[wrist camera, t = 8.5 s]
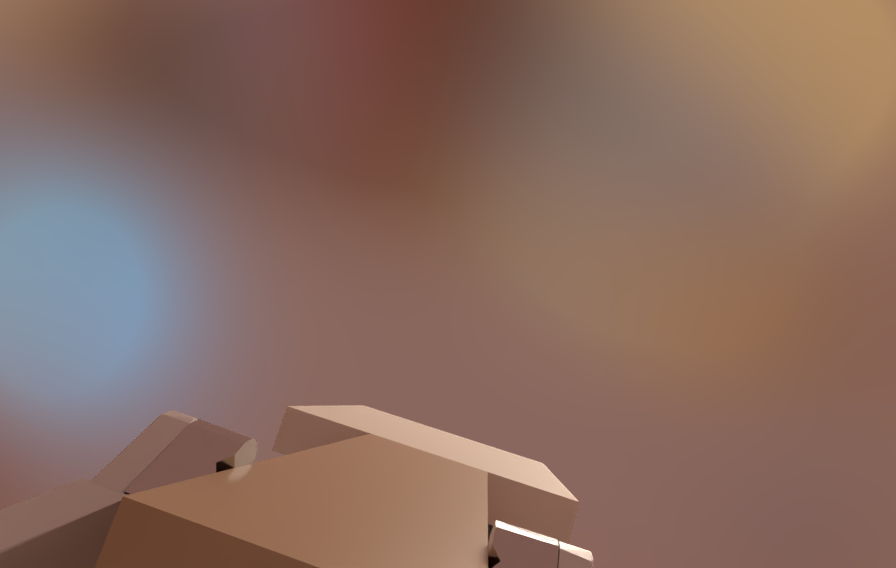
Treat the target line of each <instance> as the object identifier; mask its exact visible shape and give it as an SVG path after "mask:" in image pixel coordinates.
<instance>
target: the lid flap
mask: <svg viewBox="0 0 896 568" xmlns="http://www.w3.org/2000/svg"><path fill="white" fill-rule="evenodd" d="M272 451H275V452H278V453H281V454H284V456H280V457H277V458H272V459H268V460H265V461H260V462H257V463H253V464H249V465H245V466H241V467H237V468H232V469H229V470H225V471H221V472H217V473H213V474H209V475H205V476H201V477H197V478H193V479H189V480H185V481H181V482H177V483H173V484H169V485H165V486H161V487H157V488H153V489H149V490H145V491H141V492H137V493H133V494H129V495H125V496H123V497H122V500H121V502H120V505H119V507H118V510H117V512H116V515H115V517H114V520H113V522H112V525H111V528H110V530H109V533H108V535H107V538H106V540H105V543H104V545H103V548H102V550H101V553H100V555H99V558H98V560H97V563H96V566H95V568H488V524H490V525H494V523H495V521H496V520H498V521H501V522H504V523H507V524H510V525H513V526H516V527H519V528H523V529H526V530H529V531H532V532H535V533H538V534H541V535H544V536H547V537H551V538H554V539H557V542H558V541H560V542H563V543H566V544H569V541H570V537H571V533H572V529H573V525H574V521H575V517H576V513H577V509H578V505H579V501H578V500H577V499H576V498H575V497H574V496H573V495H572V494H571V493H570V492H569V491H568V489H567V488H566V487H565V486H564V485H563V484H562V483H561V482H560V481H559V480H558V479H557V478H556V477H555V476H554V475H553V474H552V472H551V471H550V470H549V469H548V468H547V467H546V466H545V465H544V464H543V463H541V462H538V461H535V460H531V459H528V458H525V457H522V456H519V455H516V454H513V453H509V452H506V451H503V450H500V449H497V448H494V447H491V446H488V445H485V444H481V443H479V442H475V441H472V440H469V439H466V438H463V437H460V436H457V435H454V434H451V433H448V432H444V431H441V430H438V429H435V428H432V427H429V426H426V425H422V424H420V423H416V422H413V421H410V420H407V419H404V418H401V417H398V416H394V415H392V414H388V413H385V412H382V411H379V410H376V409H373V408H370V407H367V406H364V405H362V406H361V405H360V406H287V409H286V412H285V414H284V418H283V420H282V424H281V426H280V429H279V432H278V435H277V437H276V440H275V443H274V446H273V449H272Z"/></svg>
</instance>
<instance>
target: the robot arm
mask: <svg viewBox="0 0 896 568" xmlns="http://www.w3.org/2000/svg"><path fill="white" fill-rule="evenodd" d="M256 456H257V441H256V440H254V439H251V438H248V437H246V436H243V435H240V434H237V433H235V432H232V431H230V430H227V429H224V428H221V427H218V426H216V425H213V424H211V423H208V422H205V421H202V420H200V419H197V418H194V417H191V416H188V415H185V414H182V413H180V412H177V411H174V410H171V411H169V412H166V413H164V414H162V415H160V416H159V417H158V418H157V419H156V420H155V421H154V422H153V423H152V424H151V425H150V426H149V427H148V428H147V429H145V430H144V431H143V432H142V433H141V434H140V435H139V436H138V437H137V438H136V439H135V440H134V441H133V442H132V443H131V444H130V445H129V446H127V447H126V448H125V449H124V450H123V451H122V452H121V453H120V454H119V455H118V456H117V457H116V458H115V459H114V460H113V461H112V462H110V464H108V465H107V466H106V467H105V468H104V469H103V470H102V471H101V472H100V473H99V474H98V475H97V476H96V477H95V478H94V479H93V480H91V481H89V480H86V479H83V478H82V479H79V480H77V481H74V482H71V483H69V484H66V485H63V486H61V487H58V488H55V489H53V490H50V491H47V492H45V493H42V494H39V495H37V496H34V497H32V498H29V499H26V500H24V501H21V502H19V503H16V504H13V505H10V506H8V507H5V508H3V509H0V568H95V566H96V563H97V560H98V558H99V555H100V553H101V550H102V548H103V545H104V543H105V540H106V538H107V535H108V533H109V530H110V528H111V525H112V522H113V520H114V517H115V515H116V512H117V510H118V507H119V505H120V502H121V500H122V497H123V496H125V495H129V494H133V493H137V492H141V491H145V490H149V489H153V488H157V487H161V486H165V485H169V484H173V483H177V482H181V481H185V480H189V479H193V478H197V477H201V476H205V475H209V474H213V473H217V472H221V471H225V470H229V469H232V468H237V467H241V466H245V465H249V464H251V463H252V461H253V460H254V458H255V457H256ZM488 568H593V557H592V554H591V552H590V551H587V550H584V549H581V548H578V547H575V546H572V545H569V544H566V543H563V542H560V541H558V542H557V539H554V538H551V537H547V536H544V535H541V534H538V533H535V532H532V531H529V530H526V529H523V528H519V527H516V526H513V525H510V524H507V523H504V522H501V521H498V520H496V521H495V523H494V525H493V528H492V531H491V534H490V538H489V542H488Z"/></svg>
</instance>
